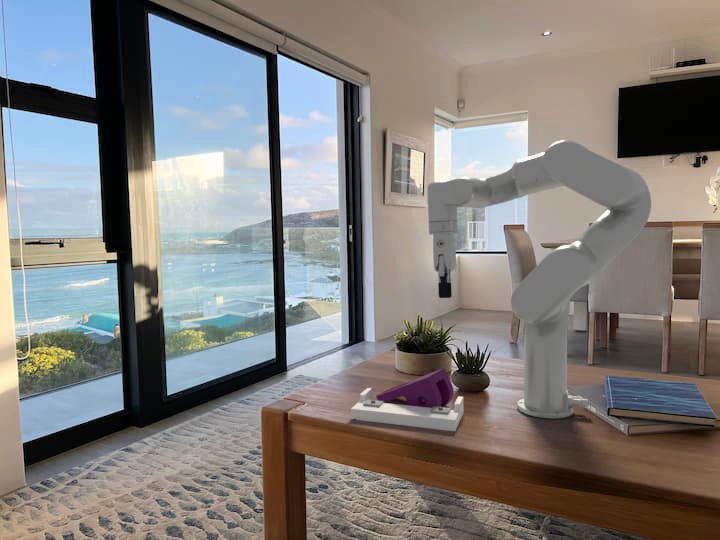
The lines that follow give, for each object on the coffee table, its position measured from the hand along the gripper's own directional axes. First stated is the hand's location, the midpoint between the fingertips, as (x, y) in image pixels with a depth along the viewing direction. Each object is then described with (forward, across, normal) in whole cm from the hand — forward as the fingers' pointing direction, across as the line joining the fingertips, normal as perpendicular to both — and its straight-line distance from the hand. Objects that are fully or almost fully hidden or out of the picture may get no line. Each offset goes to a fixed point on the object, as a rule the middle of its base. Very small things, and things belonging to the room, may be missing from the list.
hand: (445, 297), depth 136 cm
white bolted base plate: (+25, -21, +7) cm, 34 cm away
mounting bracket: (+26, -14, +7) cm, 30 cm away
